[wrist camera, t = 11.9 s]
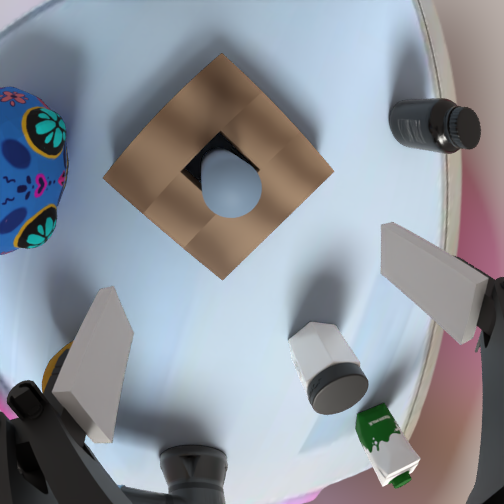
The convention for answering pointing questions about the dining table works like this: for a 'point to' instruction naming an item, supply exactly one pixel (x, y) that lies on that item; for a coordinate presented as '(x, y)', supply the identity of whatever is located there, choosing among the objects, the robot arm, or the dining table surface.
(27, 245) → the ceramic pot
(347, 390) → the jar
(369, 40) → the dining table surface
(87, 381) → the robot arm
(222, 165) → the dowel
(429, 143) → the supplement bottle
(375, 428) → the milk carton
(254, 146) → the socket block
